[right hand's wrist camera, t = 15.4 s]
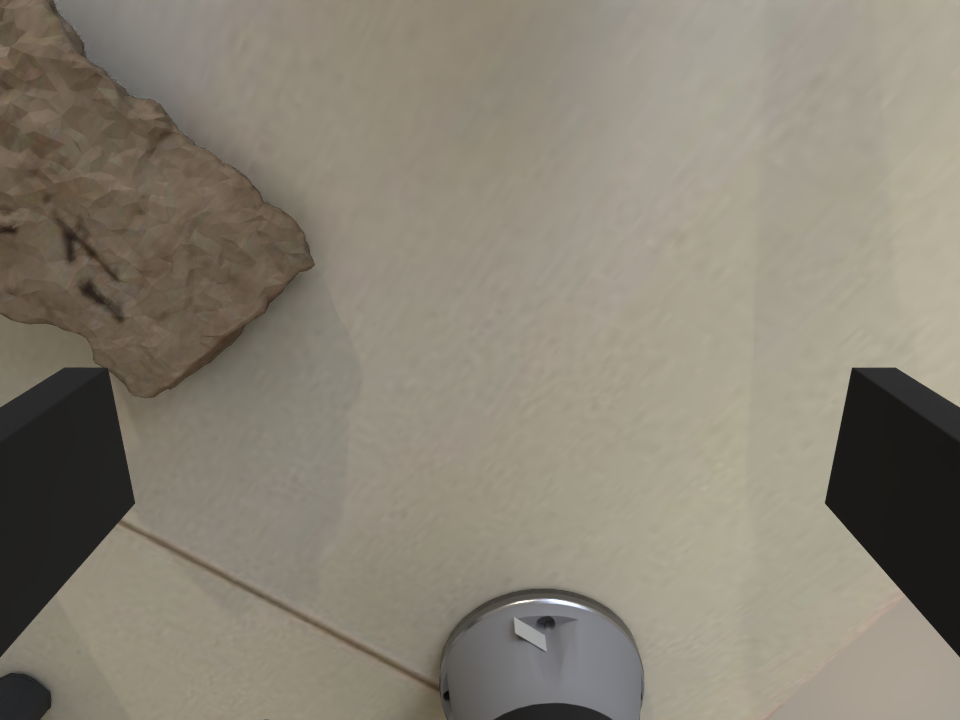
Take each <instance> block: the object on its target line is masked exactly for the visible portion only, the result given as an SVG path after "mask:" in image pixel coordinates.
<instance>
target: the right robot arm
mask: <svg viewBox="0 0 960 720" xmlns="http://www.w3.org/2000/svg"><path fill="white" fill-rule="evenodd" d="M134 504H135V500H134V495H133V490H132V485H131V480H130V475H129V470H128V465H127V460H126V456H125V451H124V446H123V441H122V436H121V431H120V426H119V421H118V416H117V411H116V406H115V401H114V396H113V391H112V386H111V381H110V376H109V371H108V368H63V369H62V370H60V371H58V372H57V373H55V374H54V375H52V376H50V377H49V378H47V379H45V380H44V381H42V382H41V383H39V384H37V385H36V386H34V387H33V388H31V389H29V390H28V391H26V392H25V393H23V394H21V395H20V396H18V397H17V398H15V399H13V400H12V401H10V402H9V403H7V404H5V405H4V406H2V407H0V657H1V656H2V655H3V653H4V652H5V651H6V650H7V649H8V648H9V647H10V645H11V644H12V643H13V642H14V641H15V640H16V639H17V637H18V636H19V635H20V634H21V633H22V632H23V631H24V629H25V628H26V627H27V626H28V625H29V624H30V623H31V621H32V620H33V619H34V618H35V617H36V616H37V615H38V613H39V612H40V611H41V610H42V609H43V608H44V607H45V605H46V604H47V603H48V602H49V601H50V600H51V599H52V597H53V596H54V595H55V594H56V593H57V592H58V591H59V589H60V588H61V587H62V586H63V585H64V584H65V583H66V581H67V580H68V579H69V578H70V577H71V576H72V575H73V574H74V572H75V571H76V570H77V569H78V568H79V567H80V566H81V564H82V563H83V562H84V561H85V560H86V559H87V558H88V556H89V555H90V554H91V553H92V552H93V551H94V550H95V548H96V547H97V546H98V545H99V544H100V543H101V542H102V540H103V539H104V538H105V537H106V536H107V535H108V534H109V532H110V531H111V530H112V529H113V528H114V527H115V526H116V524H117V523H118V522H119V521H120V520H121V519H122V518H123V516H124V515H125V514H126V513H127V512H128V511H129V510H130V508H131V507H132V506H133V505H134ZM825 504H826V505H827V506H828V507H829V508H830V510H831V511H832V512H833V513H834V514H835V515H836V516H837V518H838V519H839V520H840V521H841V522H842V523H843V524H844V526H845V527H846V528H847V529H848V530H849V531H850V532H851V534H852V535H853V536H854V537H855V538H856V539H857V540H858V542H859V543H860V544H861V545H862V546H863V547H864V548H865V550H866V551H867V552H868V553H869V554H870V555H871V556H872V558H873V559H874V560H875V561H876V562H877V563H878V564H879V566H880V567H881V568H882V569H883V570H884V571H885V572H886V574H887V575H888V576H889V577H890V578H891V579H892V580H893V582H894V583H895V584H896V585H897V586H898V587H899V588H900V589H901V591H902V592H903V593H904V594H905V595H906V596H907V597H908V599H909V600H910V601H911V602H912V603H913V604H914V605H915V607H916V608H917V609H918V610H919V611H920V612H921V613H922V615H923V616H924V617H925V618H926V619H927V620H928V621H929V623H930V624H931V625H932V626H933V627H934V628H935V629H936V631H937V632H938V633H939V634H940V635H941V636H942V637H943V639H944V640H945V641H946V642H947V643H948V644H949V645H950V647H951V648H952V649H953V650H954V651H955V652H956V653H957V655H958V656H959V657H960V407H958V406H956V405H955V404H953V403H951V402H950V401H948V400H947V399H945V398H943V397H942V396H940V395H939V394H937V393H935V392H934V391H932V390H931V389H929V388H927V387H926V386H924V385H923V384H921V383H919V382H918V381H916V380H915V379H913V378H911V377H910V376H908V375H906V374H905V373H903V372H902V371H900V370H898V369H897V368H852V371H851V376H850V381H849V386H848V391H847V396H846V401H845V406H844V411H843V416H842V421H841V426H840V431H839V436H838V441H837V446H836V451H835V456H834V460H833V465H832V470H831V475H830V480H829V485H828V490H827V495H826V500H825ZM439 686H440V695H441V701H442V705H443V709H444V712H445V716H446V718H447V720H640V710H641V707H642V702H643V695H644V672H643V666H642V662H641V658H640V655H639V652H638V648H637V645H636V642H635V640H634V638H633V636H632V634H631V632H630V631H629V629H628V628H627V626H626V625H625V624H624V622H623V621H622V620H621V619H620V618H619V617H618V616H617V615H616V614H615V613H613V612H612V611H611V610H610V609H608V608H607V607H605V606H604V605H602V604H601V603H599V602H597V601H595V600H593V599H590V598H588V597H585V596H583V595H580V594H576V593H573V592H568V591H563V590H555V589H532V590H523V591H518V592H513V593H510V594H506V595H503V596H500V597H498V598H495V599H493V600H491V601H489V602H487V603H485V604H483V605H481V606H480V607H478V608H476V609H475V610H474V611H472V612H471V613H470V614H468V615H467V616H466V617H465V618H464V619H463V620H462V621H461V622H460V623H459V624H458V625H457V627H456V628H455V629H454V631H453V632H452V633H451V635H450V637H449V639H448V640H447V643H446V645H445V647H444V651H443V654H442V659H441V668H440V685H439ZM266 720H267V719H266Z"/></svg>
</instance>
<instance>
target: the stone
mask: <svg viewBox="0 0 960 720" xmlns="http://www.w3.org/2000/svg"><path fill="white" fill-rule="evenodd" d="M314 265H315V264H314V261H313V259H312V257H311V255H310V250H309V245H308V243H307V241H306V239H305V234H304V232H303V231H302V230H301V229H300V227H299V226H298V224H297V222H296V221H295V220H294V219H293V218H292V217H290V216H289V215H287V214H286V213H285V212H283V211H282V210H281V209H279V208H276V207H274V206H271V205H269V204H267V203H264V202H263V200H262V197H261V195H260V192H259V191H258V190H257V189H256V188H255V187H254V186H253V184H252V183H251V182H250V180H249V179H248V178H247V177H246V176H245V175H243V174H242V173H241V172H239V171H238V170H236V169H235V168H233V167H231V166H229V165H226V164H224V163H223V162H221V161H220V160H219V159H218V158H217V157H215V156H214V155H213V154H212V153H210V152H208V151H207V150H205V149H204V148H201V147H198V146H196V145H195V143H194V141H192V140H191V139H189V138H188V137H186V136H185V135H183V134H182V133H181V132H180V131H179V129H178V127H177V125H176V124H175V123H174V122H173V121H172V119H171V118H170V117H169V116H168V115H167V113H166V112H165V110H164V109H163V107H162V106H161V104H159V103H156V102H155V101H153V100H150V99H149V100H144V99H138V98H135V97H132V96H129V94H128V93H127V91H126V90H125V88H123V87H122V86H121V85H119V84H118V83H117V82H115V81H114V80H113V79H111V78H110V76H109V75H108V74H107V73H106V72H105V70H104V69H103V68H101V67H99V66H96V65H94V64H93V63H92V62H90V61H89V60H88V59H87V57H86V54H85V51H84V44H83V42H82V40H81V39H80V37H79V36H78V35H77V33H76V32H75V30H74V29H73V27H72V26H71V25H70V24H69V23H68V22H67V21H66V20H65V19H64V18H63V17H62V16H61V15H60V14H59V12H58V11H57V9H56V6H55V4H54V1H53V0H0V314H1V315H3V316H5V317H7V318H9V319H10V320H13V321H17V322H21V323H26V324H51V325H55V326H58V327H60V328H61V329H63V330H67V331H70V332H74V333H78V334H80V335H82V336H83V337H85V338H87V340H88V342H89V344H90V346H91V348H92V351H93V360H94V362H95V363H96V364H98V365H100V366H101V367H103V368H108V370H109V371H110V372H112V373H113V374H114V375H115V376H116V377H117V378H118V379H119V380H121V381H122V382H123V383H124V384H125V385H126V387H127V389H128V390H129V392H130V393H131V394H133V395H134V396H138V397H142V398H152V397H155V396H156V395H158V394H159V393H161V392H163V391H165V390H166V389H172V388H174V387H176V386H177V385H178V384H179V383H180V382H181V381H183V380H184V379H185V378H186V377H188V376H190V375H191V374H193V373H194V372H196V371H197V370H199V369H200V368H202V367H203V366H204V365H206V364H208V363H210V362H211V361H212V360H213V359H214V358H215V357H216V356H217V355H219V354H220V353H221V352H222V351H223V350H224V349H225V348H226V347H228V346H230V345H231V344H232V343H233V342H234V341H235V340H236V339H237V338H238V337H239V336H240V335H241V333H242V330H243V328H244V326H245V324H247V323H248V322H250V321H252V320H253V319H255V318H257V317H259V316H260V315H262V314H264V313H265V312H266V310H267V308H268V305H269V303H270V302H271V301H273V300H274V299H275V298H276V297H277V296H278V295H279V294H280V293H281V292H282V291H283V289H284V287H285V286H286V285H287V284H288V283H289V282H290V281H291V280H292V279H293V278H294V277H295V276H296V275H297V273H298V272H302V271H307V270H309V269H311V268H312V267H313V266H314Z"/></svg>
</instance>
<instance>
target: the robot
mask: <svg viewBox="0 0 960 720" xmlns="http://www.w3.org/2000/svg"><path fill="white" fill-rule="evenodd" d="M50 707H51V698H50V692H49V691H48V690H47V689H46V688H44V687H43V686H42V685H41V684H40V683H38V682H37V681H36V680H35V679H33V678H31V677H29V676H26V675H24V674H13V673H10V674H8V675H6V676H4V677H2V678H0V720H40V719H41V718H42V716H43V715H44V714H45V713H46V711H47V710H48V709H50Z"/></svg>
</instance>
